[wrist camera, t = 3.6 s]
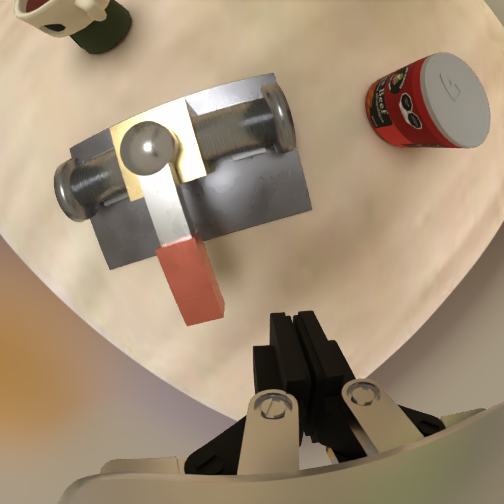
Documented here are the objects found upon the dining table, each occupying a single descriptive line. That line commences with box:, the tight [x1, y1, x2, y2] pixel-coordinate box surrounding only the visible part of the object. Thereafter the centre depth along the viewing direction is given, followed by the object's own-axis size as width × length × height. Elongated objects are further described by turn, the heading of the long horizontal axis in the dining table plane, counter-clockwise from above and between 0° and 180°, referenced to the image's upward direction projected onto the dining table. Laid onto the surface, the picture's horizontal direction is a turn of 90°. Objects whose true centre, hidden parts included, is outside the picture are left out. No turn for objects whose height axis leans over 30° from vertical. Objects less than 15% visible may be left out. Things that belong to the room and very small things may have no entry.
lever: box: [120, 121, 225, 326], centre depth 18 cm, size 14×4×2 cm, turn 16°
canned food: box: [366, 53, 490, 148], centre depth 19 cm, size 8×8×11 cm
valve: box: [54, 73, 312, 270], centre depth 22 cm, size 22×14×7 cm, turn 106°
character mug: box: [13, 0, 131, 54], centre depth 14 cm, size 11×7×13 cm, turn 48°
